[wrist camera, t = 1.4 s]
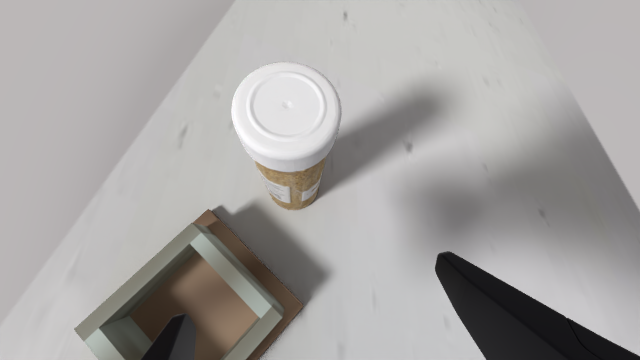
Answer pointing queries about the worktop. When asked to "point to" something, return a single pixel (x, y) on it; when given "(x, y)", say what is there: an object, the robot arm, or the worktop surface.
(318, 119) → the sprinkles bottle
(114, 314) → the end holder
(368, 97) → the worktop surface
